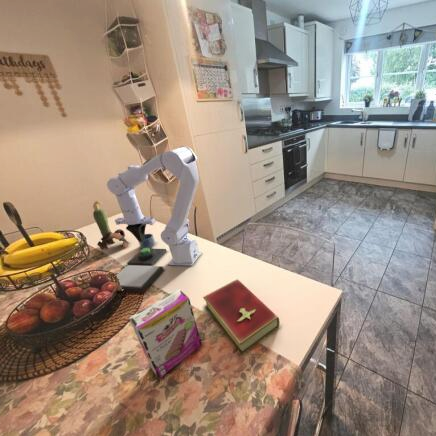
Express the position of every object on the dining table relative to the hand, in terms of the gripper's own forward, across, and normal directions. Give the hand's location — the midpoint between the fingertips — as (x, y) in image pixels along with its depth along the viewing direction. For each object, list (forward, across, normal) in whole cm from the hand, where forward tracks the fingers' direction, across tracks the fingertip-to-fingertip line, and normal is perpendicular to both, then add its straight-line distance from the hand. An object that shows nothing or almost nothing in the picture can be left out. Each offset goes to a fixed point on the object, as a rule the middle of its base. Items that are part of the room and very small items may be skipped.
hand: (141, 240), depth 95 cm
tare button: (+6, 0, 0) cm, 6 cm away
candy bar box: (+8, -34, +39) cm, 53 cm away
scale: (+8, -4, +13) cm, 16 cm away
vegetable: (-2, +25, -11) cm, 28 cm away
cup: (+8, +6, -9) cm, 13 cm away
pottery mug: (+8, +20, -8) cm, 23 cm away
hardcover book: (+8, -46, +26) cm, 54 cm away
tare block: (+8, 0, 0) cm, 8 cm away
